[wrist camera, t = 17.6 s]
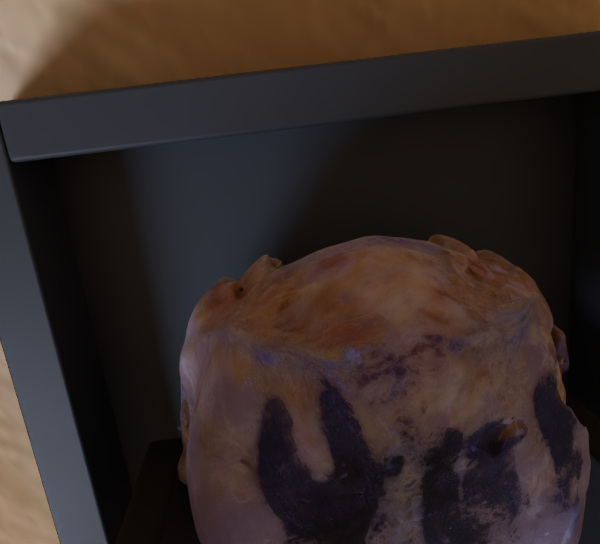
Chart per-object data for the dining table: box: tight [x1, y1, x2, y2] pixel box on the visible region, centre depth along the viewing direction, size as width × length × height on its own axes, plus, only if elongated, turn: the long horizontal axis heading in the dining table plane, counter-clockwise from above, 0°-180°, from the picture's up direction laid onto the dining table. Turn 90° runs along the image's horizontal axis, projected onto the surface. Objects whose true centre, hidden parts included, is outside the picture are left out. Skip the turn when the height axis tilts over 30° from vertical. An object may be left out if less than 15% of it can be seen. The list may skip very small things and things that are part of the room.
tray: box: [0, 31, 600, 544], centre depth 13 cm, size 13×17×3 cm
